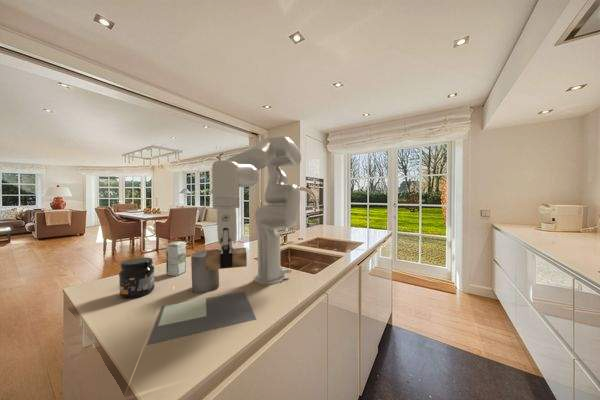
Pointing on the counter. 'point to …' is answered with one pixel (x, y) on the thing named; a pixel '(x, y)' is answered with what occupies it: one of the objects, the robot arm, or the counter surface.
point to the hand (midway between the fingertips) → (226, 263)
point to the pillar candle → (203, 274)
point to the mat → (201, 316)
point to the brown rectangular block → (214, 258)
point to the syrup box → (175, 258)
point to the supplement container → (136, 277)
